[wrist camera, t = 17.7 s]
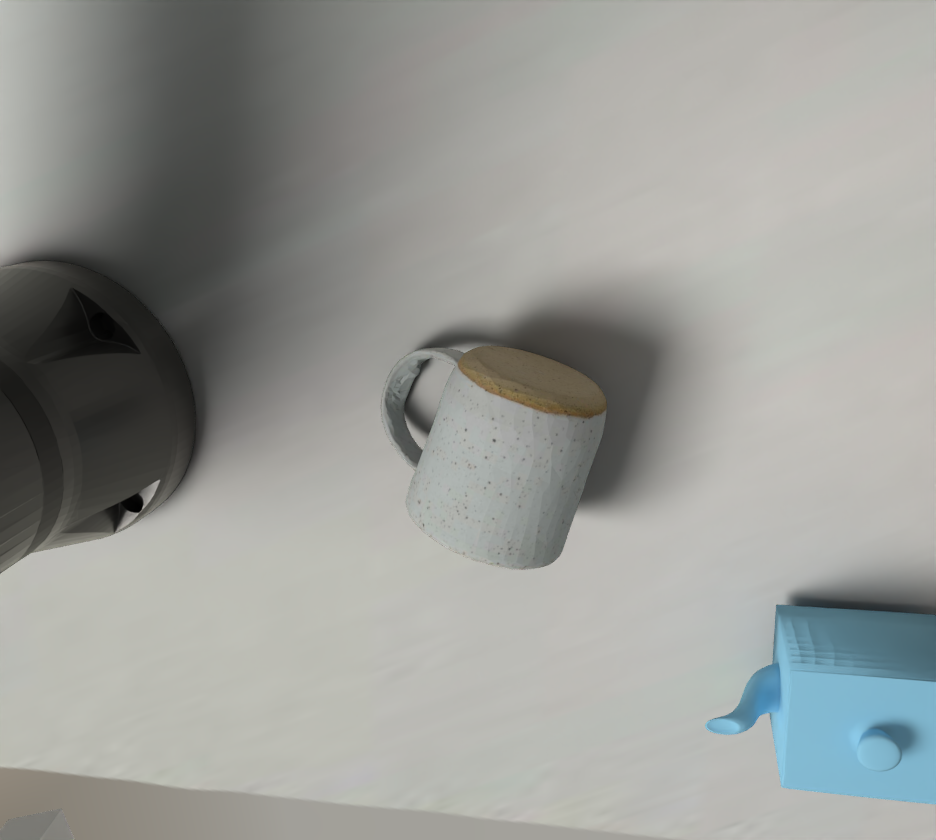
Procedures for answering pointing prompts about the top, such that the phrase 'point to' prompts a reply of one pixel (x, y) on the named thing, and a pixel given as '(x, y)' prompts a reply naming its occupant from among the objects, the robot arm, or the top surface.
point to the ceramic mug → (498, 452)
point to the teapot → (848, 702)
